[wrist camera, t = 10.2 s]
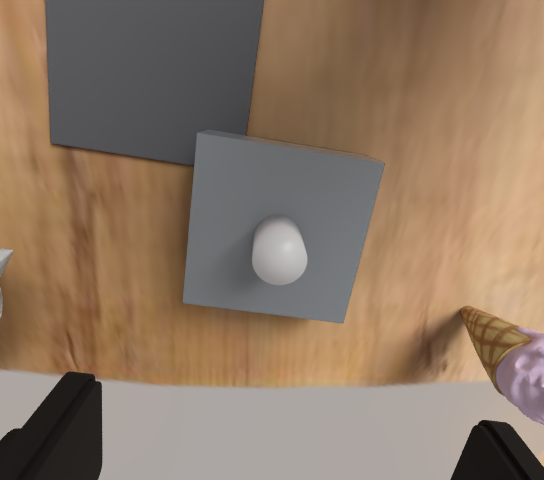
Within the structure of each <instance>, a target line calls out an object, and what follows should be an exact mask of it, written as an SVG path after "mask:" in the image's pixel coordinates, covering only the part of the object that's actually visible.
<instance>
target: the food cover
mask: <svg viewBox="0 0 544 480" xmlns="http://www.w3.org/2000/svg"><path fill="white" fill-rule="evenodd" d="M384 165H385V163H383V162H380V161H378V160H376V159H373V158H371V157H368V156H366V155H362V154H355V153H349V152H343V151H337V150H331V149H325V148H319V147H313V146H307V145H300V144H294V143H288V142H282V141H276V140H270V139H264V138H258V137H252V136H245V135H239V134H233V133H227V132H221V131H215V130H209V129H208V130H205V131H202V132H198V133H197V140H196V152H195V164H194V175H193V187H192V198H191V210H190V222H189V233H188V245H187V257H186V268H185V280H184V291H183V303H187V304H194V305H202V306H210V307H218V308H226V309H233V310H241V311H249V312H257V313H265V314H272V315H280V316H288V317H296V318H304V319H311V320H319V321H327V322H335V323H344V319H345V315H346V311H347V307H348V303H349V300H350V296H351V292H352V288H353V284H354V280H355V276H356V273H357V269H358V265H359V261H360V257H361V253H362V250H363V246H364V242H365V238H366V234H367V230H368V227H369V223H370V219H371V215H372V211H373V207H374V204H375V200H376V196H377V192H378V188H379V184H380V181H381V177H382V173H383V169H384Z"/></svg>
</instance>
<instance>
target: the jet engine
mask: <svg viewBox="0 0 544 480" xmlns="http://www.w3.org/2000/svg"><path fill="white" fill-rule="evenodd" d="M13 251H14V250H9V249H1V248H0V277H1V275H2V273H3V271H4V269H5V267H6V265H7V263H8V261H9V259H10V257H11V255H12V253H13ZM2 303H3V295H2V291H1V286H0V317H1V315H2Z"/></svg>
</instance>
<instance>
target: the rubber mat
mask: <svg viewBox="0 0 544 480" xmlns="http://www.w3.org/2000/svg"><path fill="white" fill-rule="evenodd" d="M263 4H264V0H46V28H47V56H48V84H49V111H50V139H51V143H54V144H61V145H67V146H73V147H80V148H86V149H92V150H98V151H105V152H111V153H117V154H124V155H130V156H136V157H143V158H149V159H155V160H161V161H168V162H174V163H180V164H187V165H193V166H194V164H195V152H196V140H197V133H198V132H202V131H205V130H208V129H209V130H215V131H221V132H227V133H233V134H239V135H245V136H246V133H247V126H248V118H249V110H250V103H251V95H252V88H253V80H254V72H255V65H256V57H257V49H258V42H259V34H260V27H261V19H262V11H263Z"/></svg>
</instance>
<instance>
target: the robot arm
mask: <svg viewBox="0 0 544 480" xmlns="http://www.w3.org/2000/svg"><path fill="white" fill-rule="evenodd" d="M101 468H102V385H101V382H99V381H95V376H94V375H93V374H86V373H78V372H67V373H66V374H65V375H64V376H63V377H62V378H61V380H60V381H59V382H58V383H57V385H56V386H55V387H54V389H53V390H52V391H51V392H50V393H49V395H48V396H47V397H46V398H45V400H44V401H43V402H42V403H41V405H40V406H39V407H38V408H37V410H36V411H35V412H34V413H33V415H32V416H31V417H30V418H29V420H28V421H27V422H26V423H25V425H24V426H23V427H22V428H21V429H19V428H18V429H13V430H11V431H10V432H8V433H7V434H6V435H5V436H4V437H3V438H2V439H1V440H0V480H98V478H99V475H100V472H101ZM451 480H544V467H543V466H542V465H541V463H540V462H539V461H538V459H537V458H536V457H535V456H534V454H533V453H532V452H531V450H530V449H529V448H528V447H527V445H526V444H525V443H524V441H523V440H522V439H521V438H520V436H519V435H518V434H517V433H516V431H515V430H514V429H513V427H511V425H510V424H507V423H506V422H497V421H489V420H482V421H480V422H479V424H478V425H475V426H474V427H473V428H472V430H471V433H470V435H469V437H468V440H467V442H466V444H465V447H464V449H463V451H462V454H461V456H460V459H459V461H458V463H457V466H456V468H455V470H454V473H453V475H452V477H451Z"/></svg>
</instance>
